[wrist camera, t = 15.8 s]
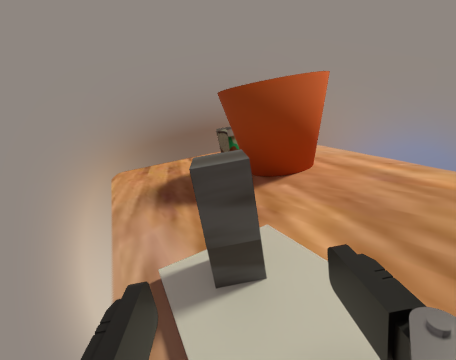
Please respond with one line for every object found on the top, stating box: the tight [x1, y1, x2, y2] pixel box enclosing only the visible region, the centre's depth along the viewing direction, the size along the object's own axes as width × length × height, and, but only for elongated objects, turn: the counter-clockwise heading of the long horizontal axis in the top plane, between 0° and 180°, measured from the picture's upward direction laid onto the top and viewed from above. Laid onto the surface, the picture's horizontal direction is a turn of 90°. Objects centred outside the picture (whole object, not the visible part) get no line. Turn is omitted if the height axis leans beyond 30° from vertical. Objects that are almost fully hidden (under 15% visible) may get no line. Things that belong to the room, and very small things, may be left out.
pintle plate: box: [159, 225, 380, 360], centre depth 17 cm, size 24×14×4 cm, turn 26°
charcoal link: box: [189, 149, 267, 288], centre depth 22 cm, size 5×5×11 cm
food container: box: [216, 127, 240, 153], centre depth 79 cm, size 12×6×10 cm, turn 20°
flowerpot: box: [218, 71, 329, 176], centre depth 58 cm, size 25×25×20 cm
